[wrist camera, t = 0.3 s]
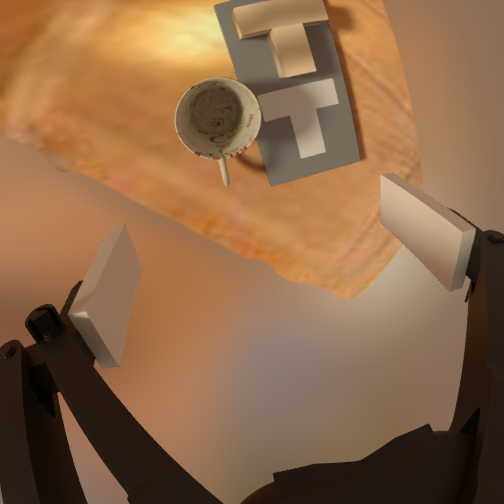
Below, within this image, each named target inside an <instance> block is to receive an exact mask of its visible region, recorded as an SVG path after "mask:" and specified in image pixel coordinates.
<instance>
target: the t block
mask: <svg viewBox="0 0 504 504" xmlns="http://www.w3.org/2000/svg"><path fill="white" fill-rule="evenodd" d="M231 16H232V19H233V22H234V25H235V28H236V31H237V34H238V37H239V40H242V39H246V38H250V37H254V36H259V35H263V34H266V36H267V39H268V42H269V46H270V49H271V52H272V55H273V58H274V62H275V65H276V68H277V72H278V75H279V78H285V77H291V76H295V75H300V74H305V73H309V72H314V71H316V67H315V64H314V60H313V57H312V53H311V50H310V46H309V43H308V40H307V36H306V33H305V30H304V27H305V26H311V25H318V24H320V23H322V22H324V21H326V20H329V18H328V15H327V12H326V9H325V6H324V3H323V0H269V1H264V2H259V3H254V4H249V5H245V6H240V7H236V8H234V9H233V12H232V15H231Z"/></svg>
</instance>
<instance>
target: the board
mask: <svg viewBox="0 0 504 504" xmlns="http://www.w3.org/2000/svg"><path fill="white" fill-rule="evenodd" d="M264 1H269V0H232V1H228V2H224V3H220V4H216V5H214V9H215V12H216V15H217V18H218V21H219V24H220V27H221V30H222V33H223V36H224V39H225V42H226V45H227V48H228V51H229V54H230V57H231V60H232V63H233V66H234V69H235V72H236V75H237V78H238V81H239V82H240V83H242V84H244V85H245V86H246V87H248V88H249V89H250V90H251V91H252V93H253V94H254V95H255V97H256V98H257V100H258V103H259V105H260V109H261V126H260V130H259V132H258V135H257V137H256V140H257V143H258V146H259V150H260V153H261V156H262V160H263V163H264V167H265V170H266V174H267V177H268V180H269V184H270V185H271V187H272V186H275V185H278V184H281V183H285V182H288V181H291V180H294V179H298V178H301V177H305V176H308V175H311V174H315V173H318V172H322V171H325V170H329V169H332V168H336V167H339V166H343V165H347V164H350V163H354V162H358V161H360V155H359V150H358V144H357V138H356V133H355V128H354V123H353V118H352V113H351V108H350V104H349V99H348V95H347V90H346V86H345V82H344V78H343V74H342V70H341V66H340V62H339V58H338V55H337V51H336V47H335V44H334V40H333V37H332V33H331V30H330V27H329V24H328V20H326V21H324V22H322V23H320V24H318V25H311V26H305V27H304V30H305V33H306V36H307V40H308V43H309V46H310V50H311V53H312V57H313V60H314V64H315V67H316V71H314V72H309V73H305V74H300V75H295V76H291V77H285V78H279V75H278V72H277V68H276V65H275V62H274V58H273V55H272V52H271V49H270V46H269V42H268V39H267V36H266V34H263V35H259V36H254V37H250V38H246V39H242V40H239V37H238V34H237V31H236V28H235V25H234V22H233V19H232V16H231V15H232V12H233V9H234V8H236V7H240V6H245V5H249V4H254V3H259V2H264Z"/></svg>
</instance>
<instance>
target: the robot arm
mask: <svg viewBox="0 0 504 504" xmlns="http://www.w3.org/2000/svg"><path fill="white" fill-rule="evenodd" d="M380 222H381V223H382V224H383V225H384V226H385V227H386V228H387V229H388V230H389V231H391V232H392V233H393V234H394V235H395V236H396V237H397V238H398V239H399V240H400V241H401V242H402V243H403V244H404V245H405V246H406V247H407V248H408V249H409V250H410V251H411V252H412V253H413V254H414V255H415V256H416V257H417V258H418V259H419V260H420V261H421V262H422V263H423V264H424V265H425V266H426V267H427V269H429V271H430V272H431V273H432V274H433V275H434V276H435V277H436V278H437V279H438V280H439V281H440V282H441V283H442V284H443V285H444V287H445V288H446V289H447V290H448V291H449V292H451V291H454V290H457V289H459V288H462V287H463V283H464V280H465V276H466V275H467V276H468V277H469V278H470V279H471V282H470V286H469V289H468V292H467V296H466V299H465V302H467V301H468V300H469V301H468V318H467V320H468V321H467V332H466V343H465V352H464V360H463V367H462V374H461V381H460V387H459V392H458V398H457V403H456V408H455V413H454V417H453V421H452V424H451V426H450V428H449V430H448V431H434V432H433V431H432V428H431V427H430V425H429V424H426V425H424V426H422V427H420V428H418V429H415V430H413V431H410V432H408V433H406V434H403V435H401V436H398V437H396V438H394V439H393V440H391V441H390V442H388V443H387V444H385V445H384V446H382V447H381V448H379V449H378V450H376V451H375V452H373V453H372V454H370V455H369V456H367V457H365V458H364V459H362V460H359V461H355V462H342V463H326V464H325V463H324V464H312V465H308V466H304V467H299V468H295V469H290V470H286V471H281V472H276V473H273V477H274V482H272V483H269V484H267V485H265V486H263V487H262V488H260V489H258V490H256V491H255V492H254V493H252V494H251V495H249V496H248V497H247V498H246V499H245V500H244V501H242V502H241V504H504V234H502V233H500V232H497V231H493V230H487V231H484V232H483V231H482V230H480V229H479V228H478V227H476V226H475V225H474V224H472V223H471V222H470V221H467V219H466V218H464V217H463V216H462V217H461V215H460V214H459V213H457V212H456V211H454V210H452V209H449V208H447V207H445V206H444V205H442V204H441V203H439V202H438V201H436V200H435V199H433V198H432V197H431V196H429V195H427V194H426V193H424V192H423V191H421V190H420V189H418V188H417V187H415V186H414V185H412V184H410V183H409V182H407V181H406V180H404V179H402V178H401V177H399V176H397V175H396V174H394V173H387V174H381V199H380ZM141 272H142V268H141V265H140V263H139V260H138V257H137V254H136V252H135V249H134V246H133V244H132V241H131V238H130V236H129V233H128V230H127V227H126V224H121V225H117V226H113V227H111V229H110V231H109V232H108V234H107V236H106V238H105V240H104V241H103V243H102V245H101V247H100V249H99V251H98V253H97V255H96V257H95V259H94V260H93V262H92V265H91V266H90V268H89V270H88V272H87V274H86V276H85V278H84V280H82V281H79V282H78V283H77V284H76V285H75V286H74V287H73V288H72V290H71V292H70V294H69V296H68V298H67V300H66V302H65V305H64V306H63V308H62V311H61V313H60V315H59V314H58V312H57V311H56V309H55V307H54V306H53V305H51V304H45V305H42V306H40V307H38V308H36V309H35V310H33V311H32V312H31V313H30V315H29V316H28V317H27V319H26V321H25V326H26V328H27V329H28V331H29V332H30V334H31V335H32V337H33V338H34V340H35V341H36V344H33V345H31V346H28V347H26V348H24V346H23V345H22V344H21V343H20V341H18V340H11V341H9V342H7V343H5V344H4V345H3V346H2V347H1V348H0V486H1V492H2V498H3V503H4V504H88V503H87V501H86V498H85V496H84V492H83V490H82V487H81V484H80V481H79V478H78V475H77V471H76V468H75V465H74V462H73V458H72V455H71V451H70V448H69V444H68V440H67V436H66V432H65V428H64V424H63V420H62V415H61V410H60V405H59V400H58V395H57V392H61V394H62V396H63V398H64V400H65V401H66V403H67V405H68V407H69V408H70V410H71V412H72V413H73V415H74V417H75V419H76V421H77V422H78V424H79V426H80V427H81V429H82V430H83V432H84V434H85V435H86V437H87V438H88V440H89V441H90V443H91V444H92V446H93V447H94V449H95V450H96V452H97V453H98V455H99V456H100V458H101V459H102V460H103V462H104V463H105V465H106V466H107V467H108V469H109V470H110V471H111V473H112V474H113V475H114V477H115V478H116V479H117V481H118V482H119V483H120V485H121V486H122V487H123V488H124V490H125V491H126V492H127V494H128V498H127V499H128V502H129V503H130V504H223V503H222V502H221V501H220V500H219V499H217V498H216V497H215V496H214V495H212V494H211V493H210V492H209V491H208V490H207V489H205V488H204V487H203V486H202V485H201V484H200V483H199V482H198V481H196V480H195V479H194V478H193V477H192V476H191V475H190V474H189V473H188V472H186V471H185V470H184V469H183V468H182V467H181V466H180V465H179V464H178V463H177V462H176V461H175V460H174V459H173V458H172V457H171V456H169V455H168V453H167V452H166V451H165V450H164V449H163V448H162V447H161V446H160V445H159V444H158V443H157V442H156V441H155V440H154V439H153V438H152V437H151V436H150V435H149V434H148V432H147V431H146V430H145V429H144V428H143V427H142V426H141V425H140V424H139V423H138V421H137V420H136V419H135V418H134V417H133V416H132V414H131V413H130V412H129V411H128V410H127V409H126V407H125V406H124V405H123V404H122V403H121V401H120V400H119V399H118V398H117V397H116V395H115V394H114V393H113V392H112V390H111V389H110V388H109V387H108V385H107V384H106V383H105V381H104V380H103V379H102V377H101V376H100V375H99V373H98V372H97V371H96V369H95V368H94V367H93V365H94V361H95V359H96V360H97V362H98V363H99V364H100V366H101V367H102V368H112V367H119V366H120V361H121V356H122V351H123V347H124V342H125V337H126V333H127V328H128V324H129V320H130V316H131V311H132V307H133V303H134V299H135V295H136V291H137V287H138V283H139V280H140V275H141Z"/></svg>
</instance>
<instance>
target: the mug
mask: <svg viewBox="0 0 504 504" xmlns="http://www.w3.org/2000/svg"><path fill="white" fill-rule="evenodd" d="M260 126H261V109H260V105H259V103H258V100H257V98H256V97H255V95H254V94H253V93H252V91H251V90H250V89H249V88H248V87H246V86H245V85H244V84H242V83H240V82H239V81H236V80H234V79H231V78H226V77H213V78H208V79H204V80H202V81H200V82H198V83H196V84H194V85H193V86H191V87H190V88H189V89H188V90H187V91H186V92H185V93H184V94H183V96H182V97H181V99H180V101H179V103H178V105H177V108H176V112H175V127H176V131H177V134H178V136H179V138H180V140H181V141H182V143H183V144H184V145H185V147H186V148H188V149H189V150H190V151H191V152H193V153H194V154H196V155H198V156H200V157H203V158H206V159H212V160H218V162H219V165H220V168H221V173H222V178H223V182H224V184H225V185H226V186H228V185H229V184H230V180H229V174H228V169H227V164H226V159H228V158H231V157H234V156H236V155H238V154H240V153H242V152H243V151H245V150H246V149H247V148H248V147H249V146H250V145H251V144H252V143H253V141H254V140H255V138H256V137H257V135H258V132H259V130H260Z"/></svg>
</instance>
